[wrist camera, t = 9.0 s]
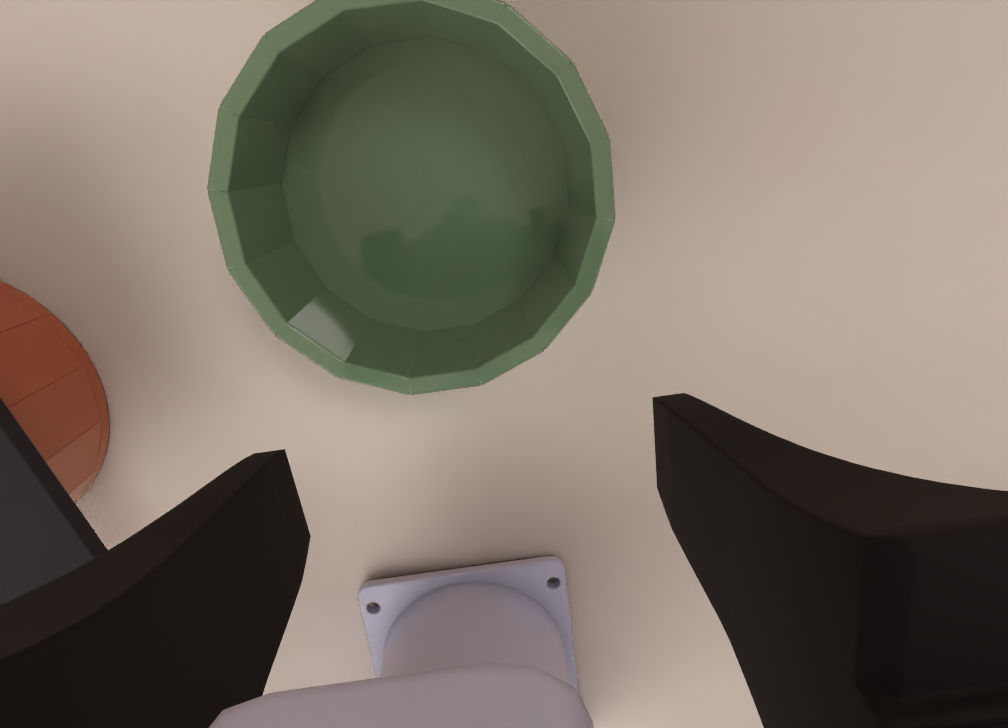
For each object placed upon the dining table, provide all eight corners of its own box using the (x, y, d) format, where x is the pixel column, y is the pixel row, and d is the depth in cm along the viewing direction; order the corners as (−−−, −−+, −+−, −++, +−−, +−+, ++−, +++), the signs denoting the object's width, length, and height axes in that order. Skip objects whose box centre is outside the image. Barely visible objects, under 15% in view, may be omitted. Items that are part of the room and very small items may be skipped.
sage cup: (590, 319, 23) (626, 366, 18) (310, 356, 23) (264, 415, 18) (564, 5, 20) (597, -48, 15) (240, 46, 20) (159, 8, 15)
